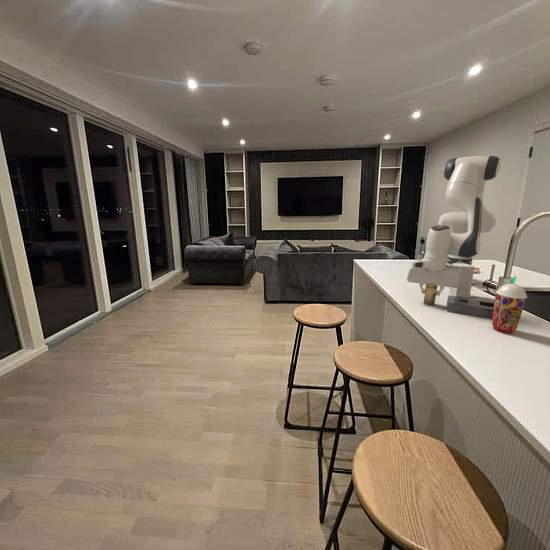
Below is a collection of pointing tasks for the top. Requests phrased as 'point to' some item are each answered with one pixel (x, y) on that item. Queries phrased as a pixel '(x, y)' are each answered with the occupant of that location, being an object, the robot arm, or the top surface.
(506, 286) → the smoothie
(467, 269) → the skincare box
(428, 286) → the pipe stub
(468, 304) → the manifold block
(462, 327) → the top surface
